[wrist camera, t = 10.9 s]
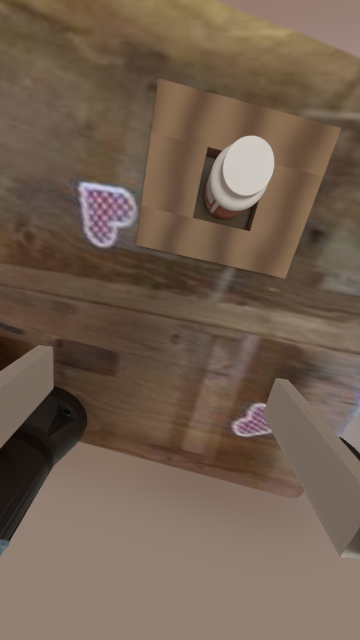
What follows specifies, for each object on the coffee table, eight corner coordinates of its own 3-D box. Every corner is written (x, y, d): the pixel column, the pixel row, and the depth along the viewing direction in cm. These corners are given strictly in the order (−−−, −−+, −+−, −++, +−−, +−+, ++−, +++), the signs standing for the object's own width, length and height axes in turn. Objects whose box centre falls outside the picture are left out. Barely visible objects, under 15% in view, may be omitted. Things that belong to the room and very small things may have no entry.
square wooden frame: (139, 245, 32) (135, 244, 29) (160, 93, 26) (158, 78, 23) (277, 276, 33) (285, 278, 30) (327, 138, 27) (341, 128, 25)
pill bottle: (256, 193, 29) (298, 162, 19) (225, 229, 31) (247, 219, 20) (225, 158, 28) (251, 104, 17) (194, 198, 29) (200, 170, 19)
